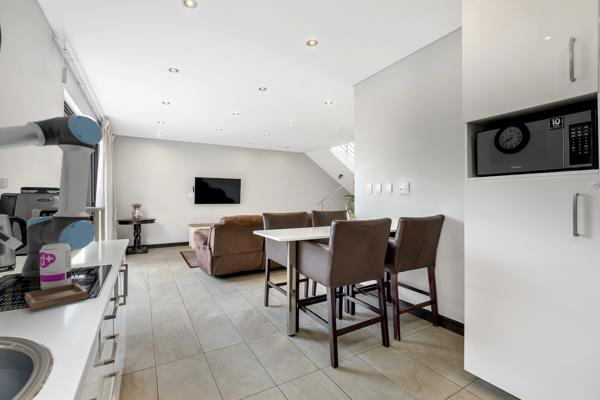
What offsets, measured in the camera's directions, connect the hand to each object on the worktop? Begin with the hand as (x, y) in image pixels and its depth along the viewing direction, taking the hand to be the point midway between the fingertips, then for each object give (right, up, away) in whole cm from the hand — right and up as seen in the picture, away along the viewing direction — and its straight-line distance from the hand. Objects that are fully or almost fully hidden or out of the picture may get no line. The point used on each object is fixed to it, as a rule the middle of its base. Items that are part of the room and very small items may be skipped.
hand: (13, 244), depth 87 cm
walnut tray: (+15, -17, -2) cm, 23 cm away
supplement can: (+6, -17, +9) cm, 20 cm away
